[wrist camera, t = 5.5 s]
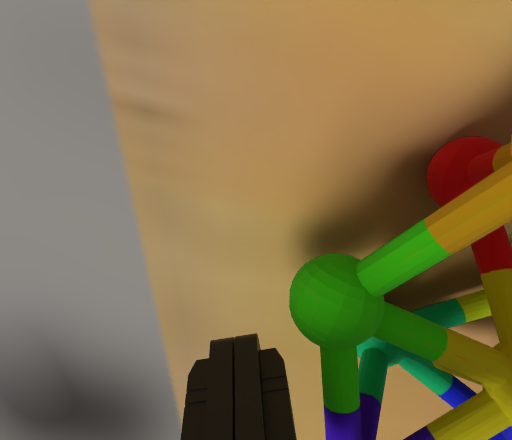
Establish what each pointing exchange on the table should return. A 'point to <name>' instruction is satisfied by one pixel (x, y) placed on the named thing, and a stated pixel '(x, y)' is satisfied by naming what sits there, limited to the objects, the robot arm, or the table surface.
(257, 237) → the table surface
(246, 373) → the robot arm
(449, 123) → the table surface
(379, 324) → the decorative model
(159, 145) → the table surface
